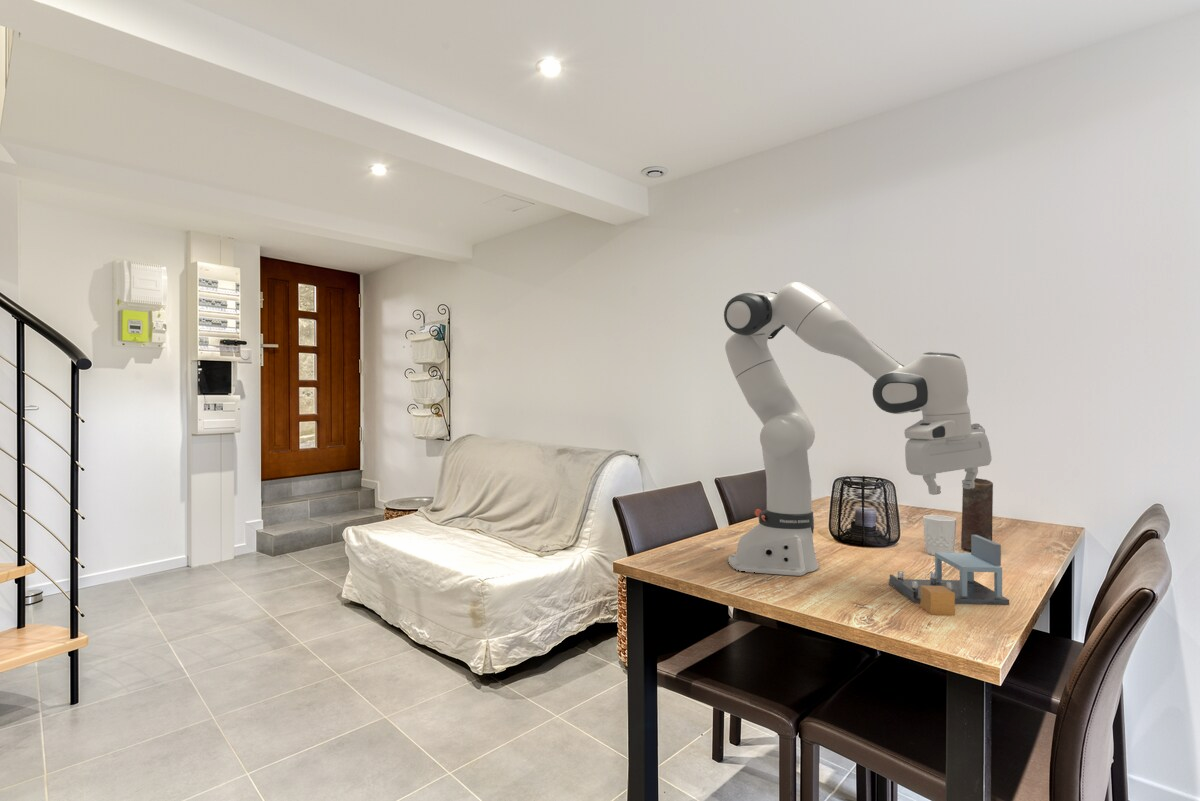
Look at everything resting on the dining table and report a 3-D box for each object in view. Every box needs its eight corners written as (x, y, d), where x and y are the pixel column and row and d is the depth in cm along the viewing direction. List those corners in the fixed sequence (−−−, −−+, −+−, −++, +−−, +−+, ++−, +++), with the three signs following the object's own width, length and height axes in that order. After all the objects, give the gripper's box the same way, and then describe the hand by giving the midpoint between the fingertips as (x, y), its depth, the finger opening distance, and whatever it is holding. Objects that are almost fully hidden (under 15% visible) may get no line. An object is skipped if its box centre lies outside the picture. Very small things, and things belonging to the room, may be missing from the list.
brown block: (931, 615, 116) (931, 592, 116) (920, 607, 121) (920, 585, 121) (954, 615, 116) (954, 593, 116) (943, 607, 120) (943, 585, 120)
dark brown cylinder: (992, 549, 165) (992, 478, 165) (993, 555, 159) (993, 482, 159) (961, 546, 170) (960, 477, 170) (960, 551, 163) (960, 480, 163)
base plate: (914, 602, 123) (914, 586, 123) (888, 583, 136) (888, 568, 136) (1009, 604, 121) (1009, 587, 121) (974, 584, 134) (974, 569, 134)
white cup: (961, 558, 157) (961, 521, 157) (929, 556, 158) (928, 520, 158) (949, 550, 164) (949, 515, 164) (919, 549, 166) (919, 514, 166)
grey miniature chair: (962, 596, 123) (962, 545, 123) (935, 579, 134) (934, 532, 134) (1004, 597, 122) (1004, 546, 122) (973, 580, 134) (973, 533, 134)
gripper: (970, 422, 131) (975, 483, 131) (897, 431, 125) (903, 495, 125) (996, 422, 125) (1002, 486, 125) (922, 432, 119) (927, 499, 119)
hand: (952, 491), depth 125 cm, fingers open, 8 cm apart
